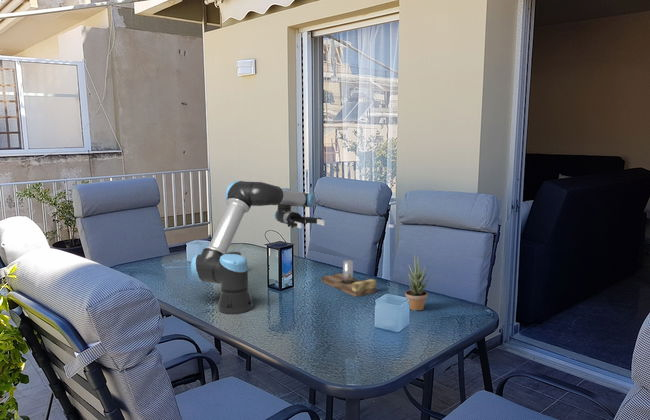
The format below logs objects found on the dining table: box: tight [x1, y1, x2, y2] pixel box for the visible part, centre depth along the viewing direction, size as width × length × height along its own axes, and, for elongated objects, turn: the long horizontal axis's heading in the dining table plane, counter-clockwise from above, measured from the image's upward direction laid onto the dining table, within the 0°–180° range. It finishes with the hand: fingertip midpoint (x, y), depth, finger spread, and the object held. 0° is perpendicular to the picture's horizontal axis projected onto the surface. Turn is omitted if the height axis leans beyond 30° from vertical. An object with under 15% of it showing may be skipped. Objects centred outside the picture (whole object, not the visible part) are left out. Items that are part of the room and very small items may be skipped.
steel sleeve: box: [342, 259, 354, 284], centre depth 257 cm, size 5×5×13 cm
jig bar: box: [321, 272, 377, 298], centre depth 258 cm, size 12×30×6 cm, turn 32°
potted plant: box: [404, 254, 430, 311], centre depth 223 cm, size 10×10×25 cm
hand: (312, 224), depth 264 cm, fingers open, 13 cm apart
